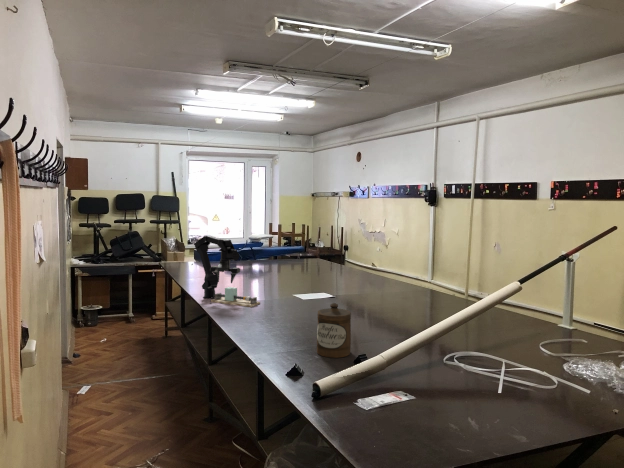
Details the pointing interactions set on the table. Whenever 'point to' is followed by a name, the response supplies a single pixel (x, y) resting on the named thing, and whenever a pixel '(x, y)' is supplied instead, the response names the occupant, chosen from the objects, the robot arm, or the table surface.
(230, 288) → the pale teal block
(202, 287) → the robot arm
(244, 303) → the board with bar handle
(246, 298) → the long grey square rod
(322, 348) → the wooden container
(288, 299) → the table surface
